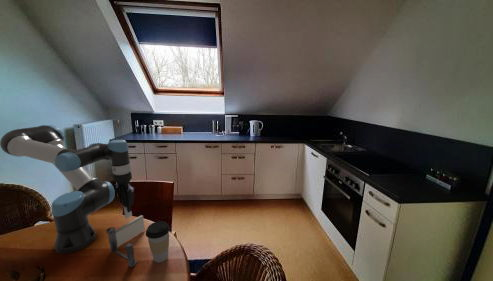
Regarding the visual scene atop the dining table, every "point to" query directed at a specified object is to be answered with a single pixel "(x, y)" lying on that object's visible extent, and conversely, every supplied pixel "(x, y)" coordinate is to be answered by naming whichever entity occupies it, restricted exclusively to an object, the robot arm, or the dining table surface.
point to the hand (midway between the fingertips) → (128, 216)
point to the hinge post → (112, 239)
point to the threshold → (123, 255)
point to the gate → (129, 230)
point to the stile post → (130, 255)
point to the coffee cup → (158, 240)
